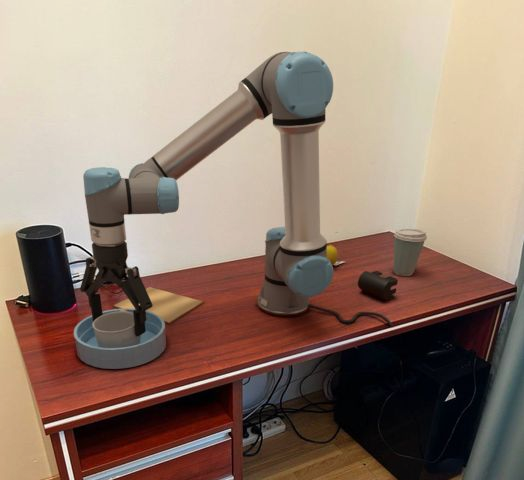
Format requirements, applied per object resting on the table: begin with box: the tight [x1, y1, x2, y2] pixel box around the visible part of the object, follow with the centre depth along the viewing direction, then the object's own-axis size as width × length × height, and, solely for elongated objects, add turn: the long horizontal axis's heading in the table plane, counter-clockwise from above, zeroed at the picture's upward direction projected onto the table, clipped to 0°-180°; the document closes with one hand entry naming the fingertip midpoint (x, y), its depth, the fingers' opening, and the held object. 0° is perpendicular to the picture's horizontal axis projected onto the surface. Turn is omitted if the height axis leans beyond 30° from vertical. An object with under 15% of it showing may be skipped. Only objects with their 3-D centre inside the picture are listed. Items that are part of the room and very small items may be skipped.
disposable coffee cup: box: [392, 227, 428, 277], centre depth 172 cm, size 11×11×15 cm
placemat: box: [113, 286, 204, 325], centre depth 148 cm, size 20×16×1 cm
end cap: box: [357, 270, 399, 302], centre depth 157 cm, size 10×7×7 cm
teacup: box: [92, 308, 141, 348], centre depth 125 cm, size 14×11×8 cm
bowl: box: [73, 308, 167, 370], centre depth 126 cm, size 21×21×6 cm
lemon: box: [327, 244, 339, 266], centre depth 176 cm, size 6×6×8 cm
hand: (118, 326), depth 124 cm, fingers open, 13 cm apart
